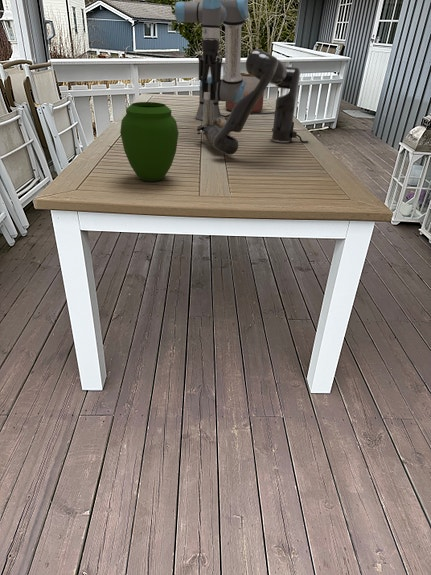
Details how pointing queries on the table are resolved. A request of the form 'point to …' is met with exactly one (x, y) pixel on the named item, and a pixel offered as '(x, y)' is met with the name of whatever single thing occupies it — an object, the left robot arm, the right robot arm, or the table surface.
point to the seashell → (220, 122)
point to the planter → (249, 87)
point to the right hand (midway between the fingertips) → (206, 127)
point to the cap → (207, 95)
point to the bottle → (207, 117)
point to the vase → (149, 139)
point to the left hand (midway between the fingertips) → (208, 98)
